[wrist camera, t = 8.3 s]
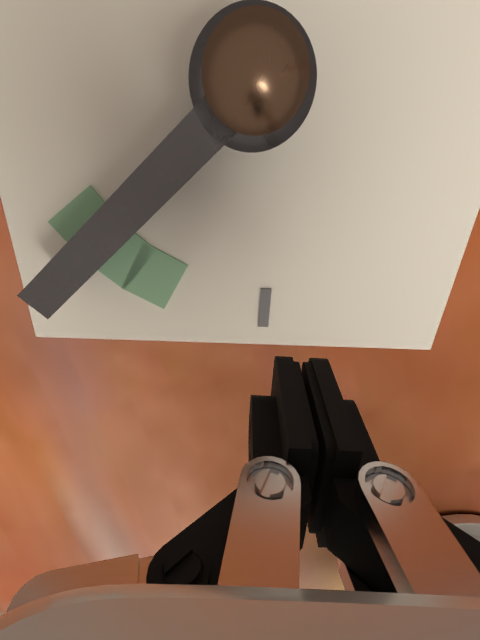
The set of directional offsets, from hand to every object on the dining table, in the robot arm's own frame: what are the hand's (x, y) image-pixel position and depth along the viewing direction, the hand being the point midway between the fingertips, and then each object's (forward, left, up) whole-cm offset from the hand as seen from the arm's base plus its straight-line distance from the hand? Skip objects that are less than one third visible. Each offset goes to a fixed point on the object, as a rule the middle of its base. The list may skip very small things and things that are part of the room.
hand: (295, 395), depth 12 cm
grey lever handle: (+6, -5, -9) cm, 12 cm away
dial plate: (+2, -7, -11) cm, 13 cm away
